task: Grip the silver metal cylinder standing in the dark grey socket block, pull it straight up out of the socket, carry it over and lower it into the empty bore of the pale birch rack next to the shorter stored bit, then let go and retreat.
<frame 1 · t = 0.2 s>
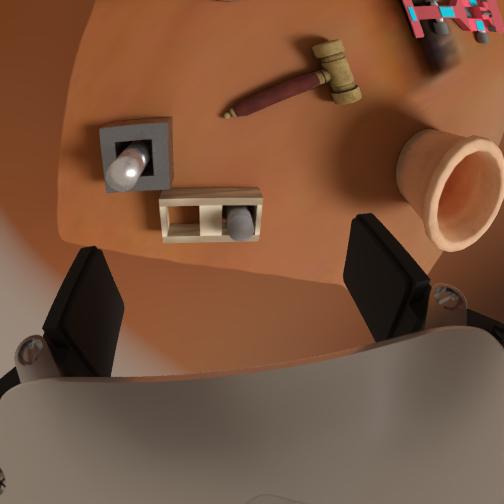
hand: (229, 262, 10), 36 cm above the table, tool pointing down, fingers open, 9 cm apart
rack: (210, 209, 49), on the table
pottery: (426, 166, 49), on the table
race car: (447, 11, 29), on the table
gavel: (285, 88, 39), on the table
socket: (141, 149, 41), on the table
silver metal cylinder: (132, 161, 36), in the socket
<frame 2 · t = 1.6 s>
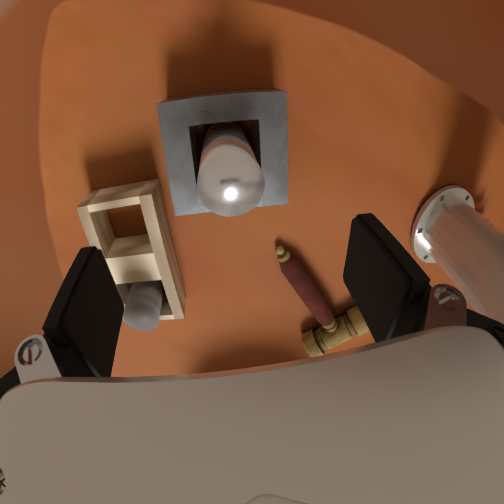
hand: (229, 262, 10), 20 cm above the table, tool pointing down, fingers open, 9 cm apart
rack: (140, 248, 32), on the table
gavel: (311, 292, 40), on the table
socket: (224, 141, 26), on the table
silver metal cylinder: (227, 158, 22), in the socket
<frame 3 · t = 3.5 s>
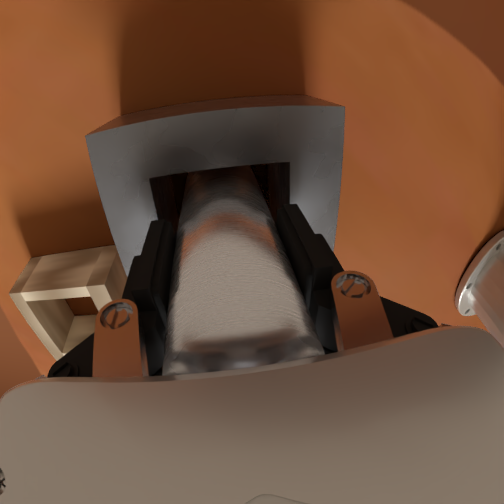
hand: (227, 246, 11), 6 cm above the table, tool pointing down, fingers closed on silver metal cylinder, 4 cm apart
rack: (109, 328, 22), on the table
socket: (220, 185, 16), on the table
silver metal cylinder: (227, 242, 11), in the socket, touching gripper
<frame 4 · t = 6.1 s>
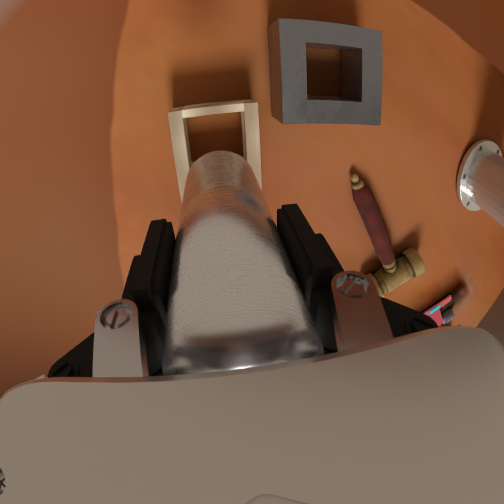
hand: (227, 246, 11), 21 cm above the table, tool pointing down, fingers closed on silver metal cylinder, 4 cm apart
rack: (219, 173, 31), on the table
race car: (433, 329, 59), on the table
gavel: (373, 230, 39), on the table
socket: (316, 71, 25), on the table
silver metal cylinder: (226, 239, 12), point 20 cm above the table, touching gripper
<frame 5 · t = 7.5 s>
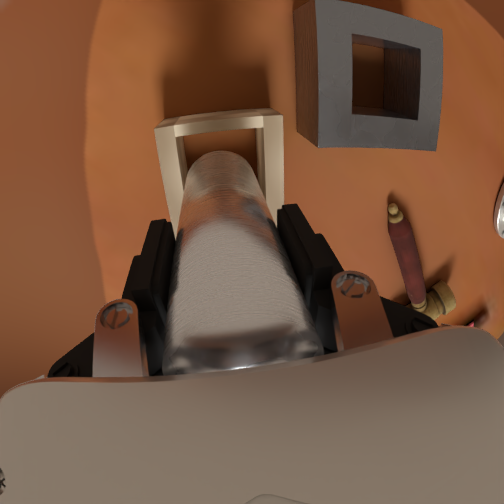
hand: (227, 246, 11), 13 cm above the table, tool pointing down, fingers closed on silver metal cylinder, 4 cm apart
rack: (226, 206, 24), on the table
gavel: (404, 264, 32), on the table
socket: (355, 74, 19), on the table
silver metal cylinder: (226, 239, 12), point 12 cm above the table, touching gripper
when the fingers open (8 cm above the table, at t = 8.8 s): silver metal cylinder drops 1 cm, resting in rack.
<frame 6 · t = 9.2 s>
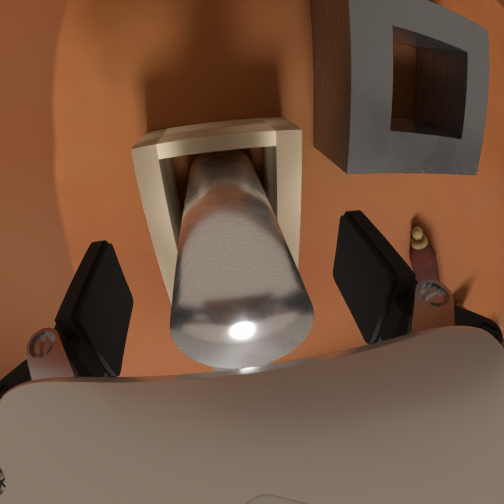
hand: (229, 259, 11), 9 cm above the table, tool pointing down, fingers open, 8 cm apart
rack: (226, 237, 20), on the table
gavel: (422, 289, 28), on the table
socket: (384, 77, 15), on the table
silver metal cylinder: (227, 222, 13), resting in rack
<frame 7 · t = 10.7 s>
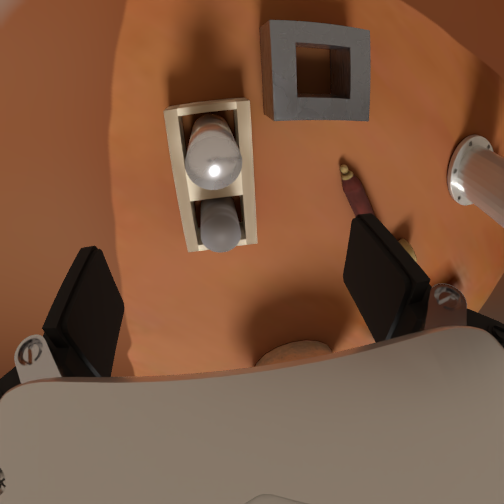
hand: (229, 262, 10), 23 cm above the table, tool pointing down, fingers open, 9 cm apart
rack: (213, 169, 32), on the table
pottery: (293, 362, 57), on the table
gavel: (364, 221, 40), on the table
socket: (307, 70, 26), on the table
silver metal cylinder: (211, 143, 24), resting in rack
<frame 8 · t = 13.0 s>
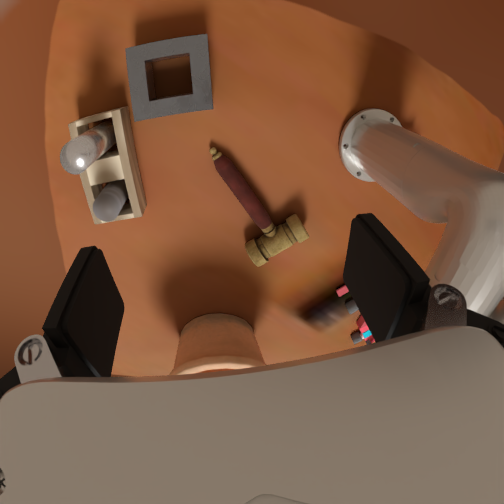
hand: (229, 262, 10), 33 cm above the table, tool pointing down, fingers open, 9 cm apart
rack: (112, 162, 38), on the table
pottery: (217, 336, 64), on the table
race car: (367, 306, 66), on the table
gavel: (248, 197, 46), on the table
socket: (173, 76, 33), on the table
silver metal cylinder: (93, 143, 31), resting in rack
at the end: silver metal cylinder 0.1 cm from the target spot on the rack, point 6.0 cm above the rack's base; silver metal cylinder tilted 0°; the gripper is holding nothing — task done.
